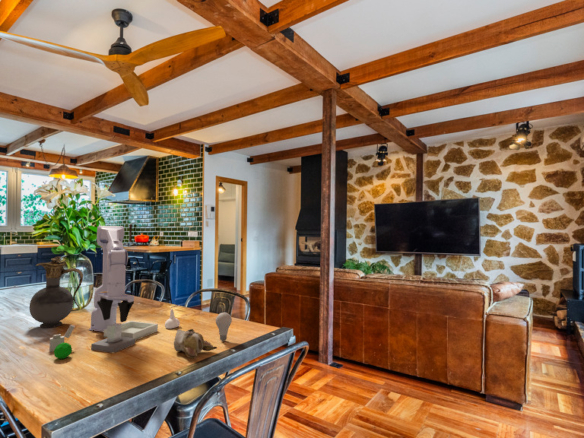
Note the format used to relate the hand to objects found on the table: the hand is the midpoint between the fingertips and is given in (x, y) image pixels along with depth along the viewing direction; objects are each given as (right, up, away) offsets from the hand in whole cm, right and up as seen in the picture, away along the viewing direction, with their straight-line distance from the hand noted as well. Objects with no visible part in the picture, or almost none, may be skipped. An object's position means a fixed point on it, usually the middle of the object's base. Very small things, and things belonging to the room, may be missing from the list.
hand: (115, 320), depth 122 cm
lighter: (-17, -9, -4) cm, 20 cm away
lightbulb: (+38, -11, +8) cm, 40 cm away
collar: (0, -9, 0) cm, 9 cm away
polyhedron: (-11, -9, -12) cm, 18 cm away
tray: (-1, -10, +14) cm, 18 cm away
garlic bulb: (+12, -11, +25) cm, 30 cm away
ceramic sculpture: (+30, -10, -6) cm, 32 cm away
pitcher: (-39, -10, +25) cm, 48 cm away
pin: (0, -9, 0) cm, 9 cm away
